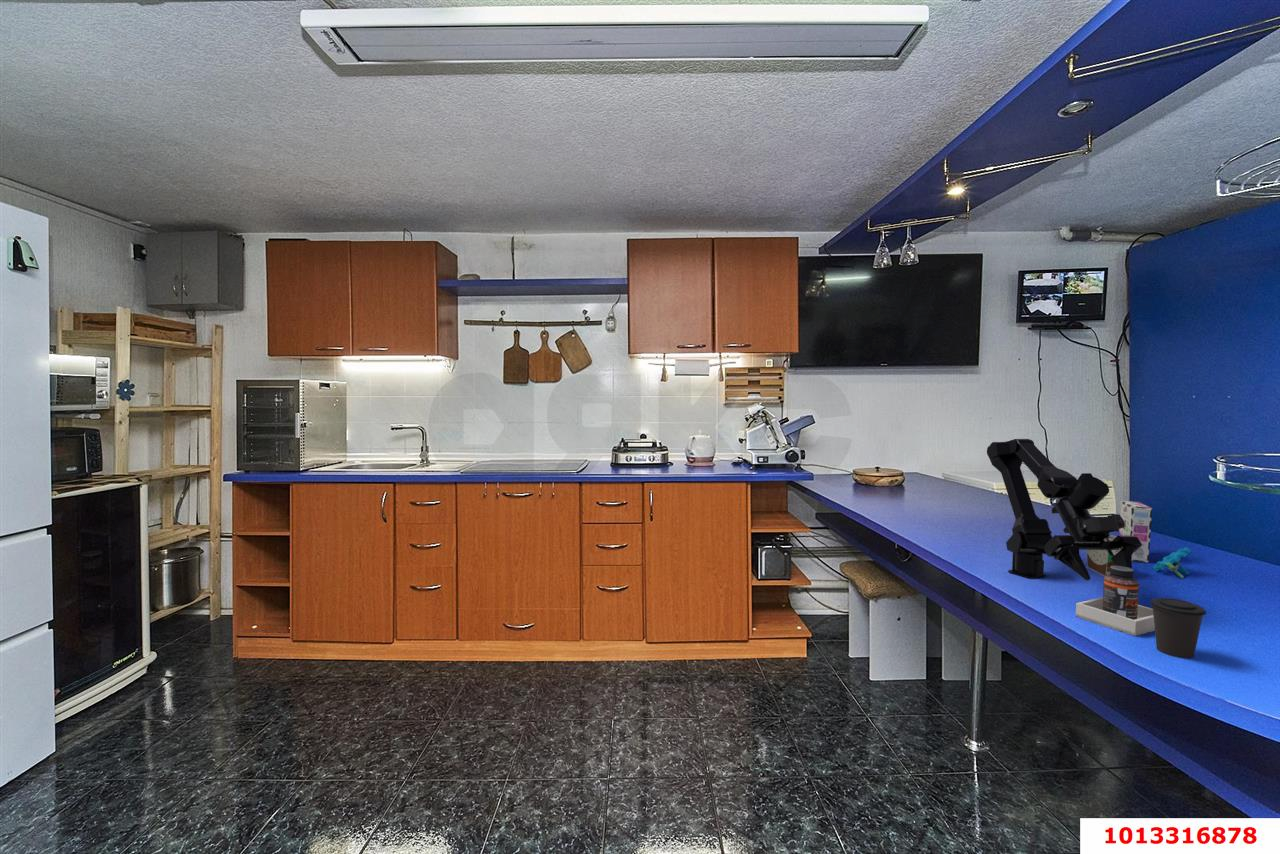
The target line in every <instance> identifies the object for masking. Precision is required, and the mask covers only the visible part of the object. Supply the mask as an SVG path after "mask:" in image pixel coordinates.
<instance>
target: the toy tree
mask: <svg viewBox="0 0 1280 854" xmlns="http://www.w3.org/2000/svg"><path fill="white" fill-rule="evenodd" d="M1190 552H1191V549H1190V548H1189V547H1187V546H1185V547H1183V548H1182V547H1181V548H1179V549H1177V550H1176V551H1173V552H1171V553H1170V554H1169V555H1166V556H1164V557H1163V558H1162V560H1159V561H1157V562H1156V563H1155V565H1154V566H1152V569H1153V570H1154V571H1155V572H1158V571H1163V570H1165V568H1167V569H1169V571H1170V572H1171V573H1173V572H1174V573H1175V574H1176V575H1177V576H1178V577H1179V578H1180V579H1184V575H1186V576H1188V575H1189V574H1190V571H1188V570H1187V569H1186V568H1185V567H1184V566H1182V565H1181V562H1180V561H1181V558H1185V557H1186V556H1187V555H1188V554H1189V553H1190ZM1178 569H1179V570H1180V571H1181V572H1182V573H1183V574H1184V575H1183V574H1181V572H1179V571H1178Z"/></svg>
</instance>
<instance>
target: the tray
mask: <svg viewBox="0 0 1280 854" xmlns="http://www.w3.org/2000/svg"><path fill="white" fill-rule="evenodd" d="M1076 616H1077V617H1076ZM1075 617H1076V618H1078V617H1079V618H1078V619H1081V618H1082V619H1081V620H1084V621H1088V622H1090V623H1094V624H1097V625H1100V626H1102V627H1106V628H1109V629H1111V628H1112V629H1113V630H1114V631H1115V630H1116V631H1118V632H1121V631H1122V633H1123V634H1127V635H1130V634H1131V635H1130V636H1133V635H1134V636H1133V637H1137V635H1138V636H1141V634H1142V635H1144V634H1149V633H1153V632H1155V626H1154V615H1153V608H1151V607H1149V606H1143V605H1141V604H1138V614H1137V619H1135V620H1133V619H1129V618H1126V617H1123V616H1120V615H1117V614H1113V613H1110V612H1107V611H1104V610H1103V596H1101V597H1097V598H1092V599H1088V600H1085V601H1084V600H1083V601H1080V602H1076V604H1075ZM1148 632H1149V633H1148Z"/></svg>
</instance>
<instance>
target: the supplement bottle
mask: <svg viewBox="0 0 1280 854" xmlns="http://www.w3.org/2000/svg"><path fill="white" fill-rule="evenodd" d="M1134 576H1135V571H1134V569H1133V568H1132V569H1131V568H1128V567H1123V566H1111V567H1110V574H1109V575H1107V576H1105V577H1104V576H1103V578H1104V579H1103V589H1102V590H1103V593H1102V594H1103V595H1102V597H1103V610H1104V611H1107V612H1110V613H1113V614H1117V615H1120V616H1123V617H1126V618H1129V619H1133V620H1135V619H1137V614H1138V605H1139V595H1140V594H1139V591H1140V588H1139V587H1140V583H1139V581H1138V580H1137V579H1136V578H1135V577H1134Z"/></svg>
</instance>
